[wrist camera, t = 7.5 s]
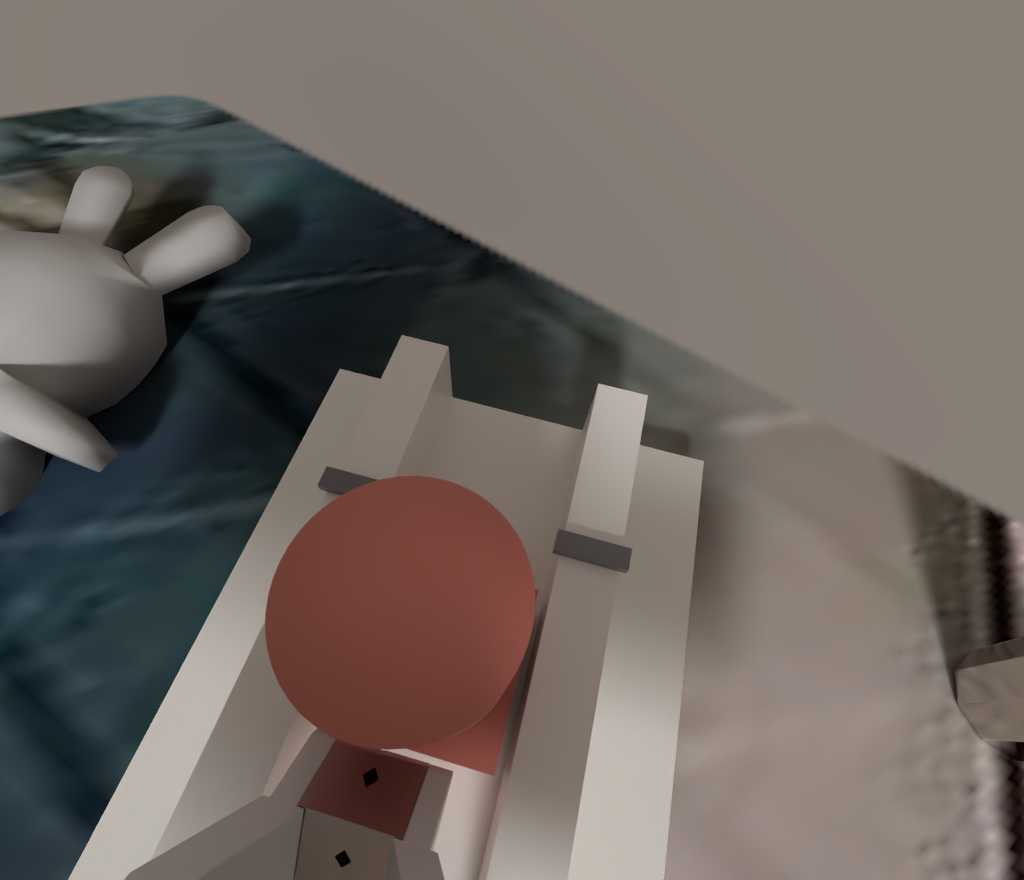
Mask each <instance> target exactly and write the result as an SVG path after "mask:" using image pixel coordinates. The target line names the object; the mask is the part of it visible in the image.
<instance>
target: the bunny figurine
mask: <svg viewBox="0 0 1024 880" xmlns="http://www.w3.org/2000/svg"><path fill="white" fill-rule="evenodd" d="M133 195H134V189H133V185H132V182H131V179H130V178H129V177H128V176H127V175H126V173H125V172H123V171H122V170H120V169H118V168H116V167H108V166H97V167H94V168H91V169H88V170H85V171H83V172H82V173H81V175H80V177H79V178H78V180H77V181H76V183H75V186H74V188H73V191H72V194H71V197H70V200H69V203H68V206H67V209H66V212H65V215H64V218H63V222H62V225H61V228H60V231H59V234H51V233H38V232H24V231H11V230H0V516H1V515H3V514H5V513H6V512H8V511H10V510H11V509H13V508H15V507H16V506H17V505H18V504H19V503H21V502H22V501H23V500H24V499H25V498H26V497H27V495H28V494H29V493H30V491H31V490H32V489H33V487H34V486H35V485H36V483H37V482H38V481H39V480H40V478H41V477H42V475H43V471H44V463H45V455H46V452H48V453H50V454H53V455H55V456H57V457H59V458H62V459H65V460H67V461H70V462H73V463H76V464H78V465H81V466H84V467H86V468H89V469H92V470H94V471H97V472H101V471H102V470H103V469H104V468H105V467H106V466H107V465H108V464H109V463H110V462H112V461H113V460H114V459H115V458H116V457H117V456H118V455H119V454H118V453H117V452H116V451H115V450H114V448H113V447H112V446H111V445H110V444H109V443H108V441H107V440H106V439H105V438H104V437H103V436H102V435H101V433H100V432H99V431H98V430H97V429H96V428H95V426H94V425H93V424H92V423H91V422H90V421H89V420H88V419H87V417H89V416H91V415H93V414H96V413H98V412H100V411H102V410H104V409H106V408H109V407H111V406H113V405H115V404H117V403H118V402H119V401H120V400H122V399H123V398H124V397H125V396H126V395H127V394H129V393H130V392H131V391H132V390H133V389H134V388H136V387H137V386H138V385H139V384H140V382H141V381H142V380H143V379H144V378H145V376H146V375H147V374H148V373H149V372H150V371H151V369H152V368H153V367H154V366H155V364H156V363H157V361H158V359H159V358H160V356H161V354H162V353H163V351H164V349H165V348H166V346H167V337H166V328H165V319H164V310H163V300H162V295H164V294H166V293H168V292H171V291H173V290H175V289H177V288H180V287H182V286H184V285H186V284H189V283H191V282H193V281H195V280H198V279H200V278H202V277H204V276H206V275H209V274H211V273H213V272H215V271H218V270H220V269H222V268H224V267H227V266H229V265H231V264H233V263H235V262H237V261H238V260H239V259H241V258H242V257H243V256H244V255H245V254H247V253H248V252H249V249H250V243H251V238H250V237H249V236H248V234H247V233H246V232H245V231H244V229H243V228H242V227H241V226H240V225H239V224H238V223H237V222H236V221H235V220H234V219H233V218H232V217H231V216H230V215H229V214H228V213H227V212H226V211H225V210H224V209H223V208H222V207H221V206H214V205H211V206H202V207H199V208H197V209H195V210H192V211H190V212H188V213H186V214H185V215H183V216H182V217H180V218H179V219H177V220H176V221H174V222H173V223H171V224H170V225H168V226H167V227H165V228H164V229H162V230H161V231H159V232H158V233H156V234H155V235H153V236H152V237H150V238H149V239H147V240H146V241H144V242H143V243H141V244H140V245H138V246H137V247H135V248H134V249H132V250H131V251H129V252H128V253H126V254H125V255H124V254H123V253H122V252H120V251H117V250H114V249H112V248H109V247H106V246H107V244H108V242H109V240H110V239H111V237H112V235H113V233H114V231H115V229H116V228H117V226H118V224H119V222H120V221H121V219H122V217H123V215H124V214H125V212H126V210H127V208H128V207H129V205H130V203H131V202H132V199H133Z"/></svg>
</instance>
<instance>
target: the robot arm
mask: <svg viewBox="0 0 1024 880" xmlns="http://www.w3.org/2000/svg"><path fill="white" fill-rule="evenodd" d="M452 777H453V771H451V770H448V769H445V768H441V767H438V766H435V765H432V764H430V763H427V762H423V761H420V760H417V759H413V758H410V757H407V756H403V755H400V754H397V753H393V752H390V751H387V750H381V749H372V748H366V747H361V746H357V745H352V744H349V743H346V742H344V741H341V740H339V739H336V738H334V737H332V736H330V735H328V734H327V733H325V732H323V731H322V730H320V729H318V728H317V729H316V730H315V731H314V732H313V733H311V735H310V736H309V738H308V739H307V741H306V742H305V744H304V745H303V747H302V748H301V750H300V752H299V753H298V755H297V756H296V758H295V759H294V761H293V762H292V764H291V765H290V767H289V768H288V770H287V772H286V773H285V775H284V776H283V778H282V779H281V781H280V782H279V784H278V785H277V787H276V788H275V790H274V791H273V793H272V795H271V796H270V797H267V796H264V795H262V796H260V797H259V798H257V799H255V800H254V801H252V802H250V803H248V804H247V805H245V806H243V807H242V808H240V809H238V810H236V811H235V812H233V813H231V814H230V815H228V816H226V817H224V818H223V819H221V820H219V821H218V822H216V823H214V824H212V825H211V826H209V827H207V828H205V829H204V830H202V831H200V832H199V833H197V834H195V835H193V836H192V837H190V838H188V839H187V840H185V841H183V842H181V843H180V844H178V845H176V846H175V847H173V848H171V849H169V850H168V851H166V852H164V853H163V854H161V855H159V856H157V857H156V858H154V859H152V860H150V861H149V862H147V863H145V864H144V865H142V866H140V867H138V868H137V869H135V870H133V871H132V872H130V873H129V874H128V875H127V877H126V878H125V879H124V880H445V879H444V875H443V871H442V867H441V863H440V859H439V855H438V853H437V852H434V851H433V850H434V847H435V843H436V839H437V835H438V831H439V828H440V824H441V820H442V816H443V812H444V808H445V804H446V800H447V796H448V792H449V788H450V785H451V781H452Z"/></svg>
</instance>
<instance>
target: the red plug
mask: <svg viewBox="0 0 1024 880" xmlns="http://www.w3.org/2000/svg"><path fill="white" fill-rule="evenodd" d="M537 594H538V590H537V589H535V587H534V578H533V574H532V569H531V565H530V562H529V559H528V556H527V553H526V550H525V548H524V546H523V544H522V542H521V540H520V538H519V536H518V534H517V533H516V531H515V530H514V529H513V527H512V526H511V524H510V523H509V521H508V520H507V519H506V518H505V517H504V516H503V515H502V514H501V512H500V511H499V510H498V509H497V508H495V507H494V506H493V505H492V504H491V503H489V502H488V501H487V500H486V499H484V498H483V497H481V496H480V495H478V494H477V493H475V492H473V491H471V490H469V489H467V488H465V487H463V486H461V485H458V484H455V483H453V482H450V481H447V480H442V479H437V478H433V477H423V476H399V477H392V478H386V479H381V480H378V481H374V482H370V483H367V484H365V485H362V486H360V487H357V488H355V489H352V490H350V491H349V492H347V493H345V494H343V495H341V496H339V497H338V498H336V499H335V500H333V501H332V502H330V503H329V504H327V505H326V506H325V507H323V508H322V509H321V510H320V511H319V512H318V513H316V514H315V515H314V516H313V517H312V518H311V519H310V520H309V521H308V522H307V523H306V524H305V525H304V526H303V527H302V529H301V530H300V531H299V532H298V533H297V535H296V536H295V538H294V539H293V540H292V542H291V543H290V544H289V546H288V548H287V549H286V551H285V553H284V555H283V556H282V558H281V560H280V562H279V565H278V567H277V569H276V572H275V574H274V576H273V580H272V583H271V587H270V590H269V594H268V599H267V606H266V613H265V635H266V644H267V651H268V655H269V658H270V662H271V666H272V669H273V671H274V674H275V676H276V678H277V681H278V683H279V685H280V687H281V688H282V690H283V692H284V693H285V695H286V696H287V698H288V700H289V701H290V702H291V703H292V705H293V706H294V707H295V708H296V709H297V710H298V711H299V713H300V714H301V715H302V716H303V717H305V718H306V719H307V720H308V721H309V722H311V723H312V724H313V725H314V726H315V727H317V728H318V729H320V730H322V731H323V732H325V733H327V734H328V735H330V736H332V737H334V738H336V739H339V740H341V741H344V742H346V743H349V744H352V745H357V746H361V747H366V748H372V749H386V750H391V749H404V748H405V749H409V750H412V751H415V752H418V753H421V754H425V755H428V756H431V757H434V758H437V759H441V760H444V761H447V762H450V763H453V764H457V765H460V766H463V767H466V768H470V769H473V770H476V771H479V772H482V773H486V774H489V775H492V776H494V775H495V771H496V767H497V763H498V758H499V754H500V750H501V746H502V742H503V737H504V733H505V729H506V725H507V721H508V716H509V712H510V708H511V704H512V700H513V695H514V691H515V687H516V683H517V678H518V674H519V670H520V666H521V662H522V659H523V657H524V655H525V653H526V650H527V647H528V643H529V640H530V637H531V634H532V628H533V622H534V616H535V603H536V599H537Z"/></svg>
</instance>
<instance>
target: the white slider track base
mask: <svg viewBox="0 0 1024 880" xmlns="http://www.w3.org/2000/svg"><path fill="white" fill-rule="evenodd" d="M647 398H648V395H644V394H640V393H635V392H631V391H627V390H623V389H619V388H615V387H611V386H607V385H603V384H599V383H598V386H597V389H596V392H595V395H594V398H593V401H592V404H591V407H590V410H589V412H588V415H587V418H586V421H585V424H584V427H583V430H579V429H575V428H571V427H567V426H564V425H560V424H556V423H552V422H548V421H544V420H540V419H536V418H532V417H528V416H524V415H520V414H516V413H512V412H508V411H505V410H501V409H497V408H493V407H489V406H485V405H481V404H477V403H473V402H469V401H465V400H461V399H457V398H453V396H452V384H451V372H450V359H449V347H448V346H445V345H441V344H437V343H433V342H429V341H424V340H420V339H416V338H412V337H408V336H404V335H402V336H401V338H400V340H399V342H398V344H397V346H396V348H395V350H394V352H393V355H392V357H391V359H390V361H389V363H388V365H387V367H386V369H385V371H384V373H383V375H382V378H381V379H379V378H375V377H371V376H367V375H363V374H359V373H355V372H351V371H347V370H343V369H340V370H339V372H338V374H337V375H336V377H335V379H334V381H333V383H332V385H331V387H330V389H329V391H328V392H327V394H326V396H325V398H324V400H323V402H322V404H321V406H320V407H319V409H318V411H317V413H316V415H315V417H314V419H313V421H312V422H311V424H310V426H309V428H308V430H307V432H306V434H305V436H304V438H303V439H302V441H301V443H300V445H299V447H298V449H297V451H296V453H295V454H294V456H293V458H292V460H291V462H290V464H289V466H288V468H287V469H286V471H285V473H284V475H283V477H282V479H281V481H280V483H279V485H278V486H277V488H276V490H275V492H274V494H273V496H272V498H271V500H270V501H269V503H268V505H267V507H266V509H265V511H264V513H263V515H262V516H261V518H260V520H259V522H258V524H257V526H256V528H255V530H254V532H253V533H252V535H251V537H250V539H249V541H248V543H247V545H246V547H245V548H244V550H243V552H242V554H241V556H240V558H239V560H238V562H237V563H236V565H235V567H234V569H233V571H232V573H231V575H230V577H229V579H228V580H227V582H226V584H225V586H224V588H223V590H222V592H221V594H220V595H219V597H218V599H217V601H216V603H215V605H214V607H213V609H212V610H211V612H210V614H209V616H208V618H207V620H206V622H205V624H204V626H203V627H202V629H201V631H200V633H199V635H198V637H197V639H196V641H195V642H194V644H193V646H192V648H191V650H190V652H189V654H188V656H187V657H186V659H185V661H184V663H183V665H182V667H181V669H180V671H179V673H178V674H177V676H176V678H175V680H174V682H173V684H172V686H171V688H170V689H169V691H168V693H167V695H166V697H165V699H164V701H163V703H162V704H161V706H160V708H159V710H158V712H157V714H156V716H155V718H154V720H153V721H152V723H151V725H150V727H149V729H148V731H147V733H146V735H145V736H144V738H143V740H142V742H141V744H140V746H139V748H138V750H137V751H136V753H135V755H134V757H133V759H132V761H131V763H130V765H129V767H128V768H127V770H126V772H125V774H124V776H123V778H122V780H121V782H120V783H119V785H118V787H117V789H116V791H115V793H114V795H113V797H112V798H111V800H110V802H109V804H108V806H107V808H106V810H105V812H104V814H103V815H102V817H101V819H100V821H99V823H98V825H97V827H96V829H95V830H94V832H93V834H92V836H91V838H90V840H89V842H88V844H87V845H86V847H85V849H84V851H83V853H82V855H81V857H80V859H79V861H78V862H77V864H76V866H75V868H74V870H73V872H72V874H71V876H70V877H69V879H68V880H124V879H125V878H126V877H127V875H128V874H129V873H130V872H132V871H133V870H135V869H137V868H138V867H140V866H142V865H144V864H145V863H147V862H149V861H150V860H152V859H154V858H156V857H157V856H159V855H161V854H163V853H164V852H166V851H168V850H169V849H171V848H173V847H175V846H176V845H178V844H180V843H181V842H183V841H185V840H187V839H188V838H190V837H192V836H193V835H195V834H197V833H199V832H200V831H202V830H204V829H205V828H207V827H209V826H211V825H212V824H214V823H216V822H218V821H219V820H221V819H223V818H224V817H226V816H228V815H230V814H231V813H233V812H235V811H236V810H238V809H240V808H242V807H243V806H245V805H247V804H248V803H250V802H252V801H254V800H255V799H257V798H259V797H260V796H262V795H264V796H267V797H270V796H271V795H272V793H273V791H274V790H275V788H276V787H277V785H278V784H279V782H280V781H281V779H282V778H283V776H284V775H285V773H286V772H287V770H288V768H289V767H290V765H291V764H292V762H293V761H294V759H295V758H296V756H297V755H298V753H299V752H300V750H301V748H302V747H303V745H304V744H305V742H306V741H307V739H308V738H309V736H310V735H311V733H313V732H314V731H315V730H316V729H317V727H315V726H314V725H313V724H312V723H311V722H309V721H308V720H307V719H306V718H305V717H303V716H302V715H301V714H300V713H299V711H298V710H297V709H296V708H295V707H294V706H293V705H292V703H291V702H290V701H289V700H288V698H287V696H286V695H285V693H284V692H283V690H282V688H281V687H280V685H279V683H278V681H277V678H276V676H275V674H274V671H273V669H272V666H271V662H270V658H269V655H268V651H267V644H266V635H265V613H266V606H267V599H268V594H269V590H270V587H271V583H272V580H273V576H274V574H275V572H276V569H277V567H278V565H279V562H280V560H281V558H282V556H283V555H284V553H285V551H286V549H287V548H288V546H289V544H290V543H291V542H292V540H293V539H294V538H295V536H296V535H297V533H298V532H299V531H300V530H301V529H302V527H303V526H304V525H305V524H306V523H307V522H308V521H309V520H310V519H311V518H312V517H313V516H314V515H315V514H316V513H318V512H319V511H320V510H321V509H322V508H323V507H325V506H326V505H327V504H329V503H330V502H332V501H333V500H335V499H336V498H338V497H339V496H341V495H343V494H345V493H347V492H349V491H350V490H352V489H355V488H357V487H360V486H362V485H365V484H367V483H370V482H374V481H378V480H381V479H386V478H392V477H399V476H423V477H433V478H437V479H442V480H447V481H450V482H453V483H455V484H458V485H461V486H463V487H465V488H467V489H469V490H471V491H473V492H475V493H477V494H478V495H480V496H481V497H483V498H484V499H486V500H487V501H488V502H489V503H491V504H492V505H493V506H494V507H495V508H497V509H498V510H499V511H500V512H501V514H502V515H503V516H504V517H505V518H506V519H507V520H508V521H509V523H510V524H511V526H512V527H513V529H514V530H515V531H516V533H517V534H518V536H519V538H520V540H521V542H522V544H523V546H524V548H525V550H526V553H527V556H528V559H529V562H530V565H531V569H532V574H533V578H534V587H535V589H537V590H538V594H537V599H536V603H535V616H534V622H533V628H532V634H531V637H530V640H529V643H528V647H527V650H526V653H525V655H524V657H523V659H522V662H521V666H520V670H519V674H518V678H517V683H516V687H515V691H514V695H513V700H512V704H511V708H510V712H509V716H508V721H507V725H506V729H505V733H504V737H503V742H502V746H501V750H500V754H499V758H498V763H497V767H496V771H495V775H494V776H492V775H489V774H486V773H482V772H479V771H476V770H473V769H470V768H466V767H463V766H460V765H457V764H453V763H450V762H447V761H444V760H441V759H437V758H434V757H431V756H428V755H425V754H421V753H418V752H415V751H412V750H409V749H405V748H404V749H391V750H387V751H390V752H393V753H397V754H400V755H403V756H407V757H410V758H413V759H417V760H420V761H423V762H427V763H430V764H432V765H435V766H438V767H441V768H445V769H448V770H451V771H453V777H452V781H451V785H450V788H449V792H448V796H447V800H446V804H445V808H444V812H443V816H442V820H441V824H440V828H439V831H438V835H437V839H436V843H435V847H434V850H433V851H434V852H437V853H438V855H439V859H440V863H441V867H442V871H443V875H444V879H445V880H664V872H665V861H666V851H667V840H668V830H669V820H670V809H671V799H672V788H673V778H674V767H675V757H676V747H677V736H678V726H679V715H680V705H681V694H682V684H683V674H684V663H685V653H686V642H687V632H688V621H689V611H690V601H691V590H692V580H693V569H694V559H695V548H696V538H697V528H698V517H699V507H700V496H701V486H702V475H703V465H704V461H701V460H697V459H693V458H689V457H685V456H682V455H678V454H674V453H670V452H666V451H662V450H658V449H654V448H650V447H646V446H642V445H640V440H641V434H642V428H643V422H644V416H645V410H646V404H647ZM381 750H386V749H381Z"/></svg>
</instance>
